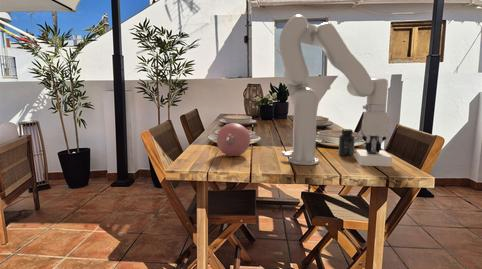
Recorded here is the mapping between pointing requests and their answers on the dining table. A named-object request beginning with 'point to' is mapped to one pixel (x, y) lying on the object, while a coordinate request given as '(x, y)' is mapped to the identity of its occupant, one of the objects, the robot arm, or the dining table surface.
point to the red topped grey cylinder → (373, 144)
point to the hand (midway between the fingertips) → (372, 151)
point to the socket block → (373, 158)
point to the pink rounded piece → (233, 139)
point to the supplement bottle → (346, 143)
